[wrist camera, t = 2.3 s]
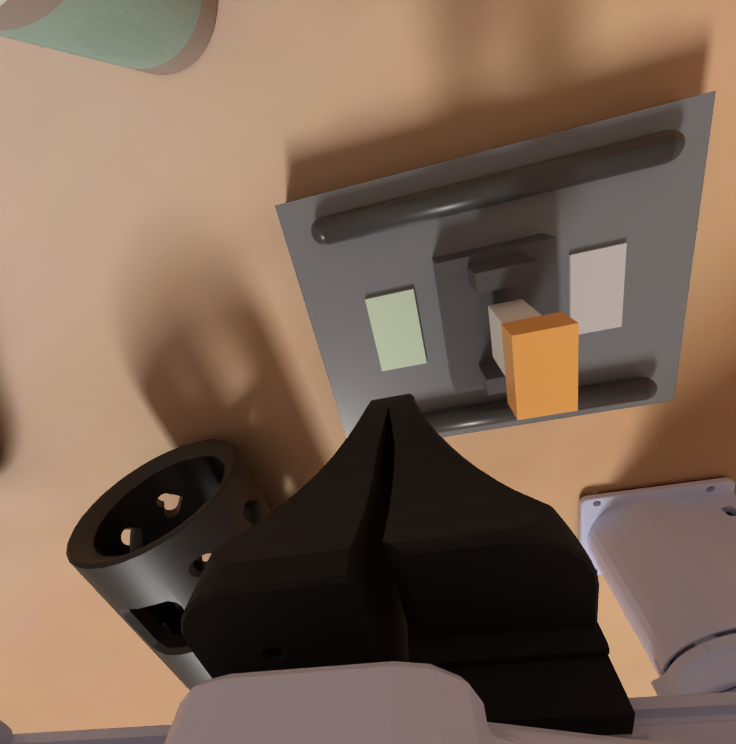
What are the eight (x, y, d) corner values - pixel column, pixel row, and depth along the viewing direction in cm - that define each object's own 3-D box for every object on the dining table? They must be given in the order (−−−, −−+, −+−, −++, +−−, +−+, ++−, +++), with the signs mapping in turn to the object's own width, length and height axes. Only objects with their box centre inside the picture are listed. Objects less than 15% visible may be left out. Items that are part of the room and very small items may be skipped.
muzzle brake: (267, 415, 24) (194, 553, 15) (385, 654, 36) (384, 817, 27) (143, 445, 26) (7, 588, 17) (293, 665, 37) (262, 822, 28)
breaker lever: (528, 288, 16) (578, 323, 11) (532, 357, 17) (577, 410, 13) (479, 298, 16) (511, 335, 12) (486, 365, 17) (517, 420, 13)
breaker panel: (679, 101, 16) (794, 66, 12) (650, 383, 22) (718, 434, 17) (285, 204, 19) (252, 209, 14) (353, 432, 25) (346, 488, 20)
